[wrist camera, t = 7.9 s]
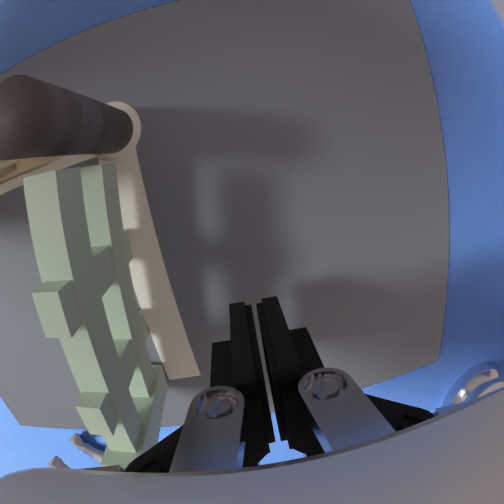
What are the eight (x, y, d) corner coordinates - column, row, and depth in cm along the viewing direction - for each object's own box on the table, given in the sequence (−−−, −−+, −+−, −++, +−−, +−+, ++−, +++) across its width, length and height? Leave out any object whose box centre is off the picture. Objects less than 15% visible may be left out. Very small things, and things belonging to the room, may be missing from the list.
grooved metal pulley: (465, 414, 19) (500, 365, 18) (483, 437, 16) (522, 385, 15) (429, 414, 18) (469, 358, 17) (448, 441, 15) (493, 383, 14)
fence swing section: (95, 166, 11) (0, 182, 5) (128, 161, 11) (47, 171, 5) (140, 386, 14) (114, 484, 8) (167, 386, 14) (150, 488, 8)
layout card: (-84, 142, 9) (-87, 142, 9) (405, -6, 10) (407, -8, 10) (21, 423, 15) (20, 425, 15) (437, 358, 16) (439, 360, 16)
